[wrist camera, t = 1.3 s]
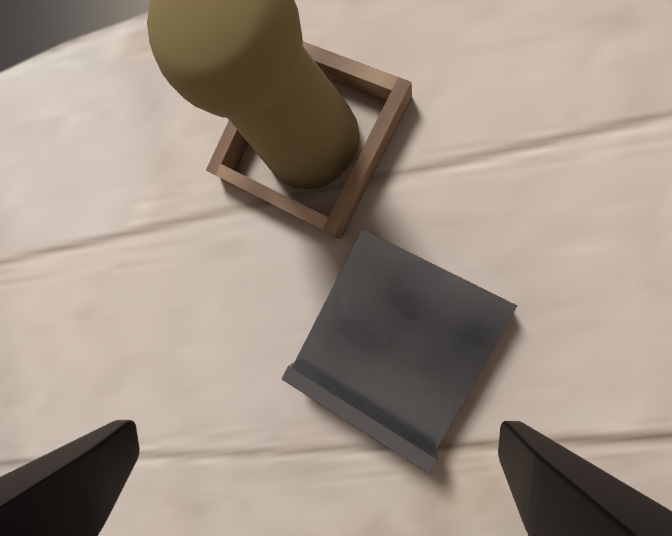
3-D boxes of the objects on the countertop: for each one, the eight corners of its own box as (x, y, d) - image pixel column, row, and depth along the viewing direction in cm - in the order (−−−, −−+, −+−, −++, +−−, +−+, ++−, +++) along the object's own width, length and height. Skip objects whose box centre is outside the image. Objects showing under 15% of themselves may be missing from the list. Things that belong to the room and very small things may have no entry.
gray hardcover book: (509, 303, 18) (523, 307, 16) (428, 449, 19) (429, 473, 17) (366, 232, 20) (359, 226, 18) (297, 367, 21) (281, 379, 18)
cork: (379, 120, 20) (332, -57, 10) (320, 208, 21) (215, 134, 10) (298, 72, 22) (178, -131, 11) (246, 156, 22) (83, 43, 12)
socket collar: (412, 96, 20) (411, 81, 18) (340, 238, 21) (333, 235, 19) (280, 46, 22) (270, 29, 20) (219, 177, 23) (205, 170, 21)
